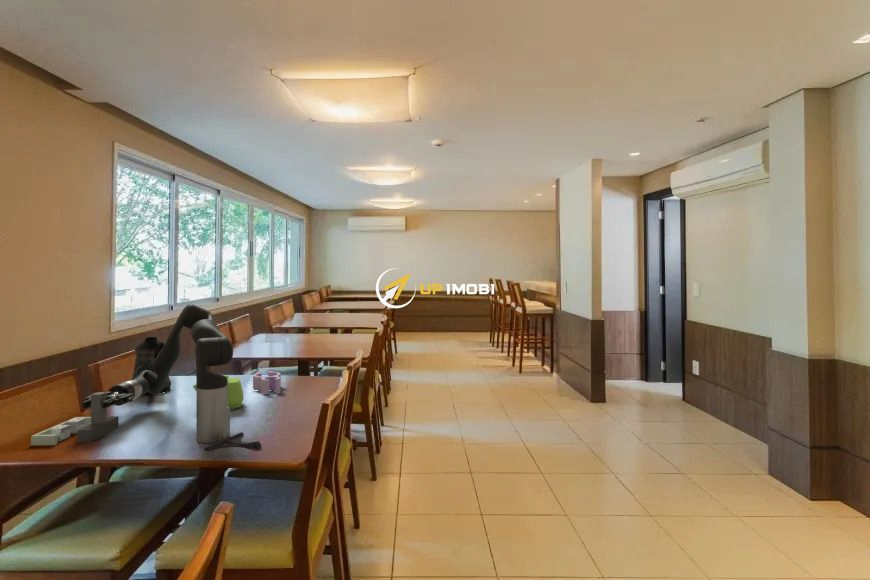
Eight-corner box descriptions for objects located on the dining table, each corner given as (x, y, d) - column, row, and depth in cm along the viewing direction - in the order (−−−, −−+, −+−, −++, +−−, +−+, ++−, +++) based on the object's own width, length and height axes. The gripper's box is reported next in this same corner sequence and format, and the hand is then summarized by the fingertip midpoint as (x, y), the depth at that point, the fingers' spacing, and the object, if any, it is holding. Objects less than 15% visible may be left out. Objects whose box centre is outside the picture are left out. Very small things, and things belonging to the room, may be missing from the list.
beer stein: (143, 387, 214) (143, 335, 213) (184, 387, 214) (184, 335, 214) (120, 396, 197) (119, 339, 197) (164, 396, 198) (164, 340, 197)
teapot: (189, 417, 169) (189, 383, 169) (196, 403, 188) (196, 372, 187) (242, 412, 176) (242, 379, 175) (244, 399, 194) (244, 369, 194)
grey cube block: (70, 436, 148) (69, 424, 147) (60, 441, 144) (60, 429, 143) (57, 437, 147) (57, 425, 147) (47, 441, 143) (47, 429, 143)
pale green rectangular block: (96, 425, 159) (96, 416, 159) (54, 445, 140) (54, 435, 140) (75, 425, 158) (75, 417, 158) (31, 445, 139) (31, 436, 139)
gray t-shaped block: (118, 427, 157) (118, 388, 157) (90, 442, 143) (90, 398, 143) (106, 427, 157) (106, 388, 156) (77, 442, 143) (77, 399, 142)
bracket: (242, 459, 132) (242, 450, 132) (204, 452, 138) (204, 443, 138) (275, 443, 146) (275, 434, 146) (239, 437, 151) (240, 428, 151)
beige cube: (85, 429, 155) (85, 418, 155) (76, 433, 151) (76, 421, 151) (73, 429, 154) (72, 418, 154) (64, 433, 150) (64, 422, 150)
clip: (286, 393, 207) (286, 378, 206) (257, 396, 200) (257, 381, 200) (277, 384, 224) (277, 370, 223) (250, 387, 217) (250, 372, 217)
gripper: (104, 382, 163) (70, 394, 146) (145, 382, 164) (116, 394, 147) (104, 402, 164) (70, 417, 147) (145, 402, 164) (116, 416, 148)
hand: (93, 405), depth 147 cm, fingers open, 5 cm apart
